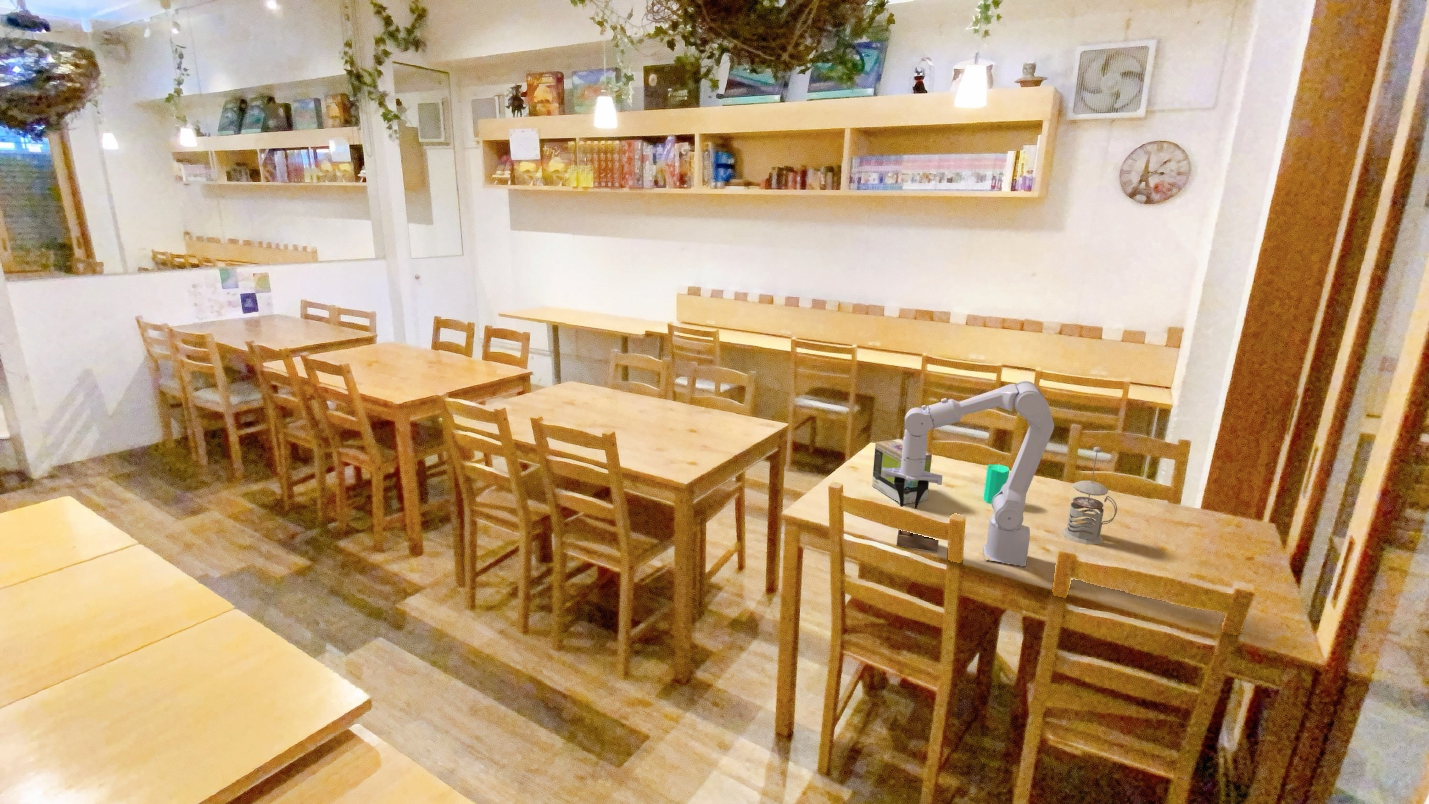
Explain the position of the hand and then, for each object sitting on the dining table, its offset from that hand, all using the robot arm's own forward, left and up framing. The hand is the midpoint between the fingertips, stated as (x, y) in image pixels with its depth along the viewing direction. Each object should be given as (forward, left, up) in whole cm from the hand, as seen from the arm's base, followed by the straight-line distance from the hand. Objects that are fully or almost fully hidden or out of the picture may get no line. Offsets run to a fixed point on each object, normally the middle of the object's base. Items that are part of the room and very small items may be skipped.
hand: (908, 506), depth 175 cm
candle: (-23, -36, -11) cm, 44 cm away
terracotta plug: (0, 0, -8) cm, 8 cm away
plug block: (-3, 0, -10) cm, 11 cm away
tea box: (+4, -32, -11) cm, 34 cm away
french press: (-45, -20, -11) cm, 50 cm away
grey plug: (-6, 0, -8) cm, 10 cm away
